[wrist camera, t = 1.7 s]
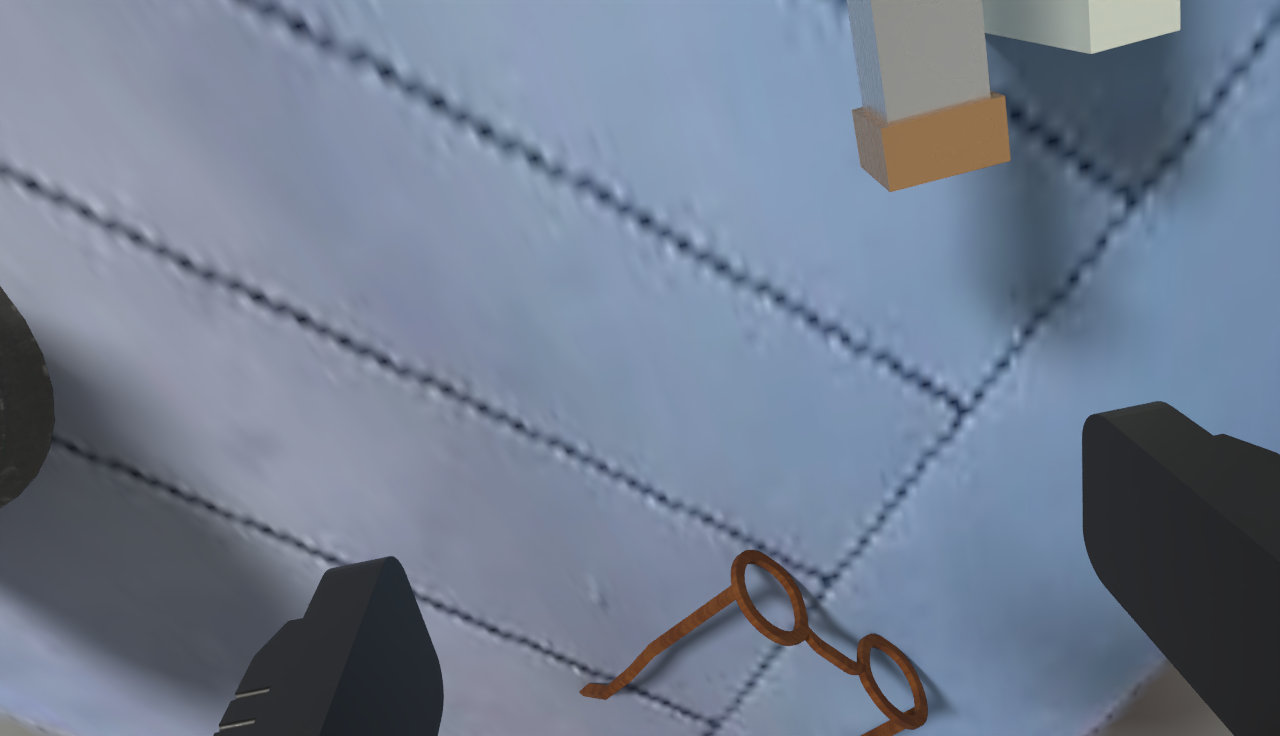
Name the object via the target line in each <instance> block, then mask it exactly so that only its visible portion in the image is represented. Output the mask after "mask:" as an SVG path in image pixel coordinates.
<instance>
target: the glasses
mask: <svg viewBox="0 0 1280 736" xmlns="http://www.w3.org/2000/svg"><path fill="white" fill-rule="evenodd" d="M747 564H756V565H758V566H761V567H762V568H764V569H766V570H767V571H769V572H770V573H771V574H772V575H773V576H775V577H776V578H777V579H778V581H779V582H780V583H781V584H782V585H783V587H784V588H785V590H786V591H787V593H788V595H789V597H790V599H791V602H792V605H793V610H794V616H795V626H794V630H793V631H784V630H781V629H779V628H777V627H775V626H774V625H772V624H771V623H770V622H768V621H767V620H766V619H765V618H764V617H763V616H762V615H761V614H760V613H759V612H758V610H757V609H756V608H755V606H754V605H753V603H752V601H751V599H750V597H749V595H748V592H747V589H746V585H745V577H744V574H745V568H746V565H747ZM731 584H732V585H731V586H730V587H728V588H727V589H726V590H724V591H723V592H721V593H720V594H719V595H717V596H716V597H714V598H713V599H712V600H710V601H709V602H707V603H706V604H705V605H703V606H702V607H700V608H699V609H698V610H696V611H695V612H693V613H692V614H691V615H689V616H688V617H687V618H685V619H684V620H682V621H681V622H680V623H678V624H677V625H675V626H674V627H673V628H671V629H670V630H668V631H667V632H666V633H664V634H663V635H661V636H660V637H659V638H657V639H656V640H654V641H653V642H652V643H650V644H649V645H648V646H647V647H646V648H645V650H644V651H643V652H642V653H641V654H640V655H639V656H638V657H637V658H636V660H635V661H634V662H633V663H632V664H631V665H630V666H629V667H628V668H627V669H626V670H625V671H624V672H623V673H621V674H620V675H619V676H618V677H617V678H616V679H614V680H613V681H612V682H611V683H610V684H609V685H599V684H592V683H589V684H588V685H587V686H586V687H584V688H583V689H582V690H581V691H580V693H581V694H582V695H583V696H586V697H592V698H598V699H604V700H606V699H608V698H609V697H610V696H612V695H613V694H614V693H616V692H617V691H619V690H620V689H621V688H623V687H624V686H625V685H627V684H628V683H629V682H631V681H632V680H633V678H634V677H635V676H636V675H637V674H638V673H639V672H640V671H641V670H642V669H643V668H644V667H645V666H646V665H647V664H648V663H649V662H650V661H651V660H652V659H653V658H654V657H655V656H656V655H658V654H659V653H660V652H662V651H663V650H665V649H666V648H668V647H669V646H670V645H672V644H673V643H675V642H676V641H677V640H679V639H680V638H682V637H683V636H685V635H686V634H687V633H689V632H690V631H692V630H693V629H695V628H696V627H697V626H699V625H700V624H702V623H703V622H705V621H706V620H707V619H709V618H710V617H712V616H713V615H715V614H716V613H717V612H719V611H720V610H722V609H723V608H725V607H726V606H727V605H729V604H730V603H732V602H733V601H734V600H736V601H737V603H738V605H739V607H740V609H741V610H742V612H743V614H744V615H745V617H746V618H747V619H748V620H749V622H750V623H751V624H752V625H753V626H754V627H755V628H756V629H757V630H758V631H759V632H760V633H762V634H763V635H764V636H766V637H767V638H768V639H770V640H772V641H774V642H775V643H778V644H780V645H784V646H793V645H797V644H799V643H801V642H803V641H804V640H806V642H807V643H808V644H809V645H810V647H811V648H812V649H813V650H814V651H815V652H817V653H818V654H819V655H821V656H822V657H823V658H825V659H826V660H828V661H829V662H831V663H832V664H834V665H835V666H837V667H838V668H840V669H841V670H843V671H844V672H846V673H848V674H851V675H859V677H860V680H861V683H862V684H863V686H864V688H865V690H866V691H867V693H868V694H869V696H870V697H871V699H872V700H873V702H874V703H875V704H876V706H877V707H878V708H879V709H880V710H881V711H882V712H883V713H884V714H885V715H886V716H887V717H888V718H889V719H890V720H889V721H888V722H886V723H884V724H882V725H880V726H878V727H876V728H874V729H873V730H871V731H869V732H867V733H865V734H863V735H861V736H893V735H895V734H896V733H898V732H900V731H902V730H904V729H911V730H914V729H916V728H918V727H920V726H922V725H924V723H925V722H926V720H927V716H928V707H927V700H926V696H925V692H924V689H923V686H922V683H921V681H920V679H919V677H918V675H917V673H916V671H915V669H914V667H913V666H912V665H911V663H910V662H909V660H908V659H907V658H906V657H905V655H904V654H903V653H902V652H901V651H900V650H899V649H898V648H897V647H896V646H895V645H893V644H892V643H890V642H889V641H887V640H886V639H885V638H883V637H881V636H879V635H875V634H870V635H867V636H865V637H863V638H862V639H861V640H860V641H859V644H858V648H857V662H855V661H852V660H851V659H849V658H848V657H846V656H845V655H843V654H842V653H840V652H839V651H837V650H836V649H835V648H833V647H832V646H830V645H829V644H827V643H826V642H824V641H823V640H822V639H820V638H819V637H818V636H817V635H816V634H815V633H814V632H813V631H812V630H811V629H810V628H809V626H808V618H807V613H806V608H805V604H804V601H803V597H802V594H801V592H800V590H799V588H798V586H797V585H796V583H795V582H794V580H793V579H792V578H791V576H790V575H789V574H788V573H787V572H786V571H785V570H784V569H783V568H782V567H781V566H780V565H779V564H778V563H777V562H775V561H774V560H772V559H771V558H769V557H768V556H767V555H765V554H763V553H761V552H759V551H755V550H746V551H744V552H742V553H741V554H740V555H738V556H737V557H736V558H735V560H734V561H733V564H732V567H731ZM871 647H874V648H877V649H880V650H882V651H883V652H885V653H886V654H888V655H889V656H890V657H891V658H892V659H893V660H894V661H895V662H896V663H897V664H898V665H899V667H900V668H901V669H902V671H903V672H904V674H905V676H906V677H907V679H908V682H909V684H910V686H911V689H912V692H913V697H914V703H915V707H914V708H912V709H910V710H908V711H906V712H904V713H903V712H901V711H900V710H898V709H897V708H896V707H894V706H893V705H892V704H891V703H890V702H889V701H888V700H887V698H886V697H885V696H884V695H883V693H882V692H881V690H880V689H879V687H878V685H877V684H876V682H875V680H874V677H873V675H872V672H871V667H870V650H871Z"/></svg>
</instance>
